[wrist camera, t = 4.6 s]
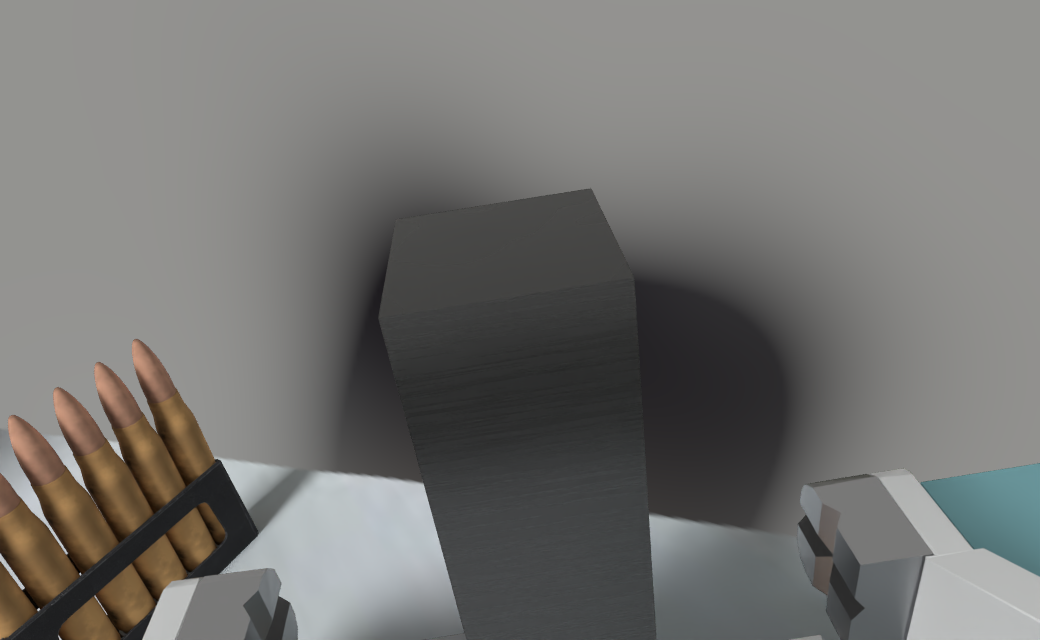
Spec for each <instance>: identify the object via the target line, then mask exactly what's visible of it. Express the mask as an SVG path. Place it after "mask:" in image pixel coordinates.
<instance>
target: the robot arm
mask: <svg viewBox="0 0 1040 640" xmlns="http://www.w3.org/2000/svg"><path fill="white" fill-rule="evenodd" d="M800 504H801V506H802V508H803V509H804V511H805V513H806V516H805V517H804V518H803V519H802V520H801V521H800V522H799V523H798V533H797V542H798V548H799V553H800V558H801V561H802V564H803V566H804V569H805V572H806V574H807V576H808V578H809V580H810V582H811V584H812V586H814V587H815V588H817V589H818V590H820V591H822V592H823V593H825V594H826V595H828V597H827V605H826V612H827V614H828V616H829V618H830V620H831V622H832V624H833V625H834V627H835V629H836V631H837V633H838V635H839V637H840V639H841V640H1040V577H1039V576H1037V575H1035V574H1033V573H1031V572H1029V571H1027V570H1026V569H1024V568H1022V567H1020V566H1018V565H1016V564H1014V563H1012V562H1010V561H1008V560H1006V559H1004V558H1002V557H1000V556H998V555H996V554H994V553H992V552H990V551H988V550H987V549H985V548H981V549H973V548H972V547H971V546H970V544H969V543H968V542H967V541H966V540H965V538H964V537H963V536H962V535H961V533H960V532H959V531H958V530H957V528H956V527H955V526H954V525H953V524H952V522H951V521H950V520H949V519H948V517H947V516H946V515H945V514H944V512H943V511H942V510H941V509H940V508H939V506H938V505H937V504H936V503H935V501H934V500H933V499H932V498H931V497H930V495H929V494H928V493H927V492H926V490H925V489H924V488H923V487H922V485H921V484H920V483H919V482H918V481H917V479H916V478H915V477H914V476H913V474H912V473H911V472H909V471H908V470H906V469H904V468H902V469H895V470H889V471H883V472H877V473H871V474H869V475H868V474H863V475H858V476H851V477H845V478H839V479H833V480H827V481H822V482H815V483H810V484H805V485H804V487H803V488H802V490H801V497H800ZM280 587H281V581H280V579H279V577H278V575H277V573H276V571H275V569H271V568H265V569H258V570H250V571H242V572H234V573H227V574H219V575H211V576H204V577H200V578H192V579H185V580H177V581H172V582H171V583H170V584H169V585H168V586H167V587H166V588H165V589H164V590H163V592H162V594H161V596H160V599H159V601H158V604H157V606H156V608H155V611H154V613H153V615H152V618H151V620H150V622H149V625H148V627H147V629H146V632H145V634H144V637H143V639H142V640H298V626H297V622H296V617H295V613H294V610H293V608H292V606H291V603H290V602H288V601H286V600H285V599H283V598H281V597H279V592H280Z"/></svg>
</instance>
